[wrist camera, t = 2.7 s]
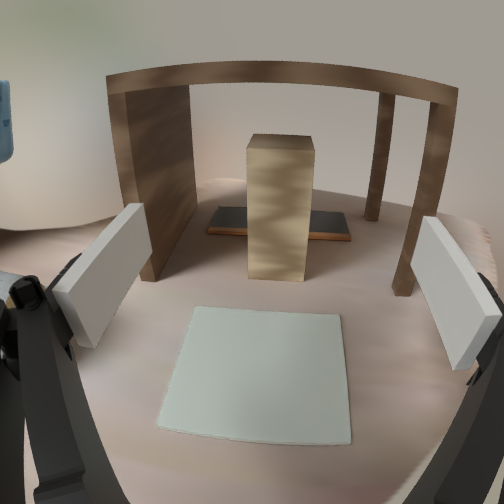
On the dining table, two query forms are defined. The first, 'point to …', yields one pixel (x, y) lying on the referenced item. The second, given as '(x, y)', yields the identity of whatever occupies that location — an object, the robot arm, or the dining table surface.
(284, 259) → the maple block
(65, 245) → the dining table surface
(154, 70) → the small wooden table
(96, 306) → the robot arm
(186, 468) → the dining table surface
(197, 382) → the pad
